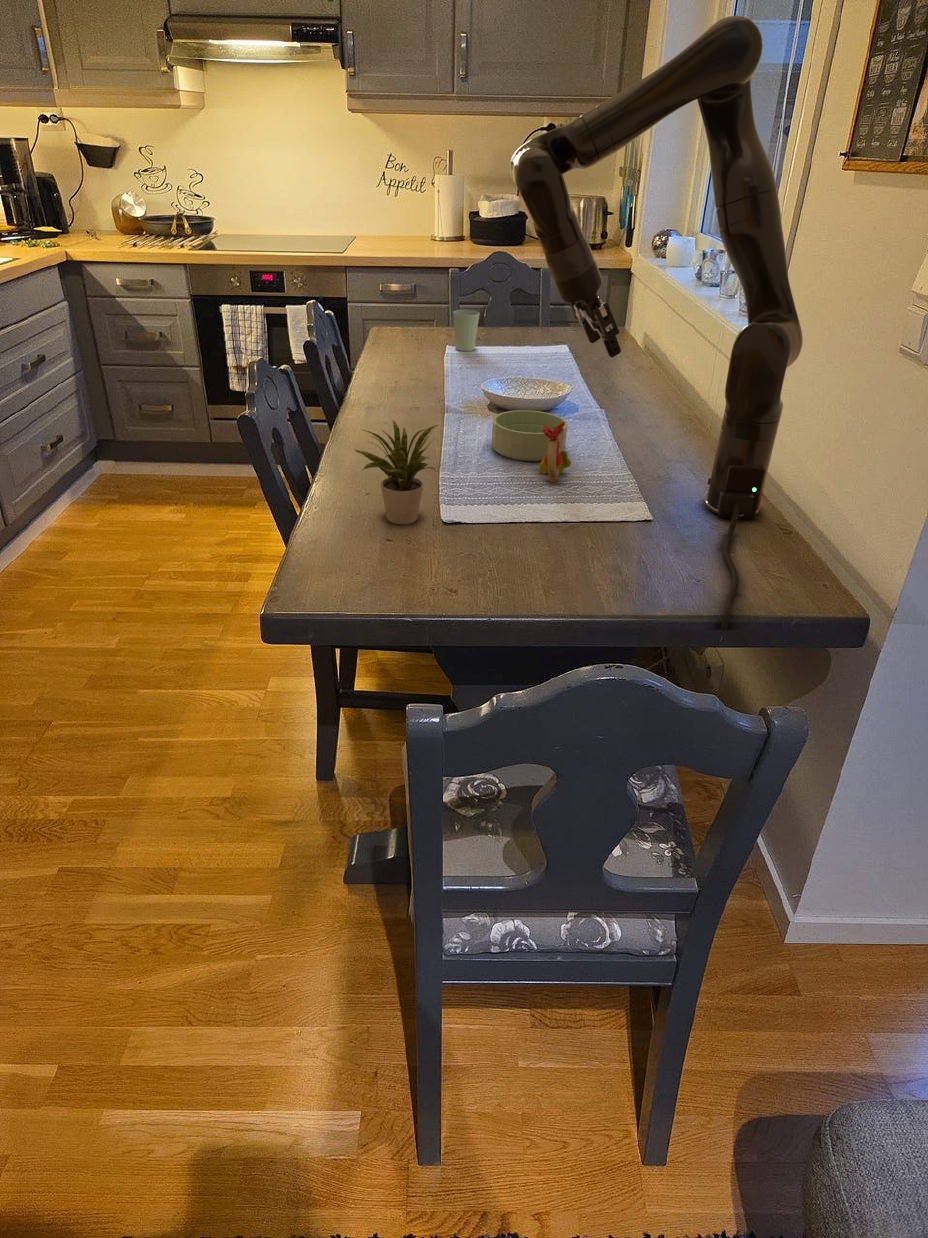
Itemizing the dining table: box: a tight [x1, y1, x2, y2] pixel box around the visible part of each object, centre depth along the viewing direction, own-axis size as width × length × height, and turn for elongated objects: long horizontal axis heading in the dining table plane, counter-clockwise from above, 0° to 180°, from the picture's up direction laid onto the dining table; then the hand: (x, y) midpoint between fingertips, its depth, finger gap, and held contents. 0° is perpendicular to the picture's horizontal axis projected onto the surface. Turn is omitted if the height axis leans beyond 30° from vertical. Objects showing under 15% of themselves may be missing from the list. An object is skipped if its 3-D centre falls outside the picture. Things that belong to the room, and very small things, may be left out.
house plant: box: [354, 419, 440, 525], centre depth 139 cm, size 14×14×16 cm
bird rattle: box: [538, 422, 572, 483], centre depth 158 cm, size 6×11×9 cm
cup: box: [452, 309, 480, 352], centre depth 245 cm, size 8×8×10 cm
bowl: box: [490, 409, 568, 462], centre depth 172 cm, size 15×15×6 cm
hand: (605, 347), depth 151 cm, fingers open, 8 cm apart
